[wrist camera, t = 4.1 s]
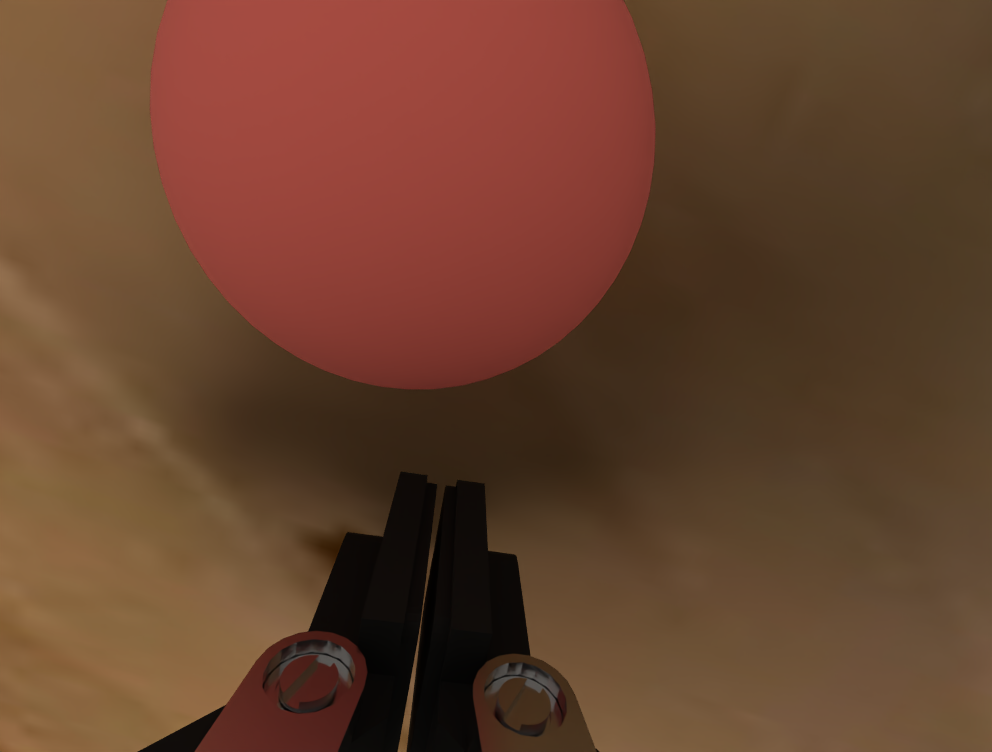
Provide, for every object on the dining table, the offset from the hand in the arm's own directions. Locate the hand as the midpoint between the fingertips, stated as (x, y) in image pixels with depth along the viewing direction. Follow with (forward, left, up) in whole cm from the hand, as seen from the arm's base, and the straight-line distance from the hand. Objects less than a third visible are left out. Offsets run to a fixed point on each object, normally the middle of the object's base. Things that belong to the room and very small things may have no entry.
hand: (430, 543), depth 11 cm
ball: (+1, -7, +2) cm, 7 cm away
